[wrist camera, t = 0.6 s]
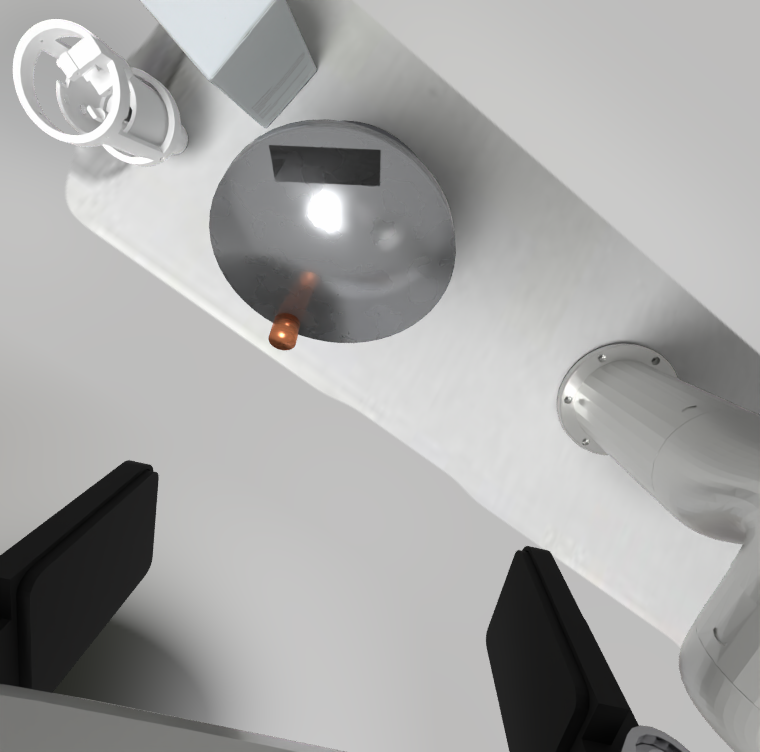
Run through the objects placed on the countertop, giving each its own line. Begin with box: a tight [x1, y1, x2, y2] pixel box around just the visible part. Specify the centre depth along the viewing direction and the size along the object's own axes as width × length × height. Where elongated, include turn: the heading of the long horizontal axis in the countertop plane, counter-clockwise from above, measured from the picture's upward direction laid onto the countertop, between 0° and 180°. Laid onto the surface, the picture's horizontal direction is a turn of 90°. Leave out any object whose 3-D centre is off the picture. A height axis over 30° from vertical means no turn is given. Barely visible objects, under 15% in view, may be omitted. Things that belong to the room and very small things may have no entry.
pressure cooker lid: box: [209, 120, 456, 350], centre depth 28 cm, size 16×16×4 cm
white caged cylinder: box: [13, 19, 188, 167], centre depth 34 cm, size 7×7×15 cm
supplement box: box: [140, 0, 317, 128], centre depth 33 cm, size 7×7×13 cm
